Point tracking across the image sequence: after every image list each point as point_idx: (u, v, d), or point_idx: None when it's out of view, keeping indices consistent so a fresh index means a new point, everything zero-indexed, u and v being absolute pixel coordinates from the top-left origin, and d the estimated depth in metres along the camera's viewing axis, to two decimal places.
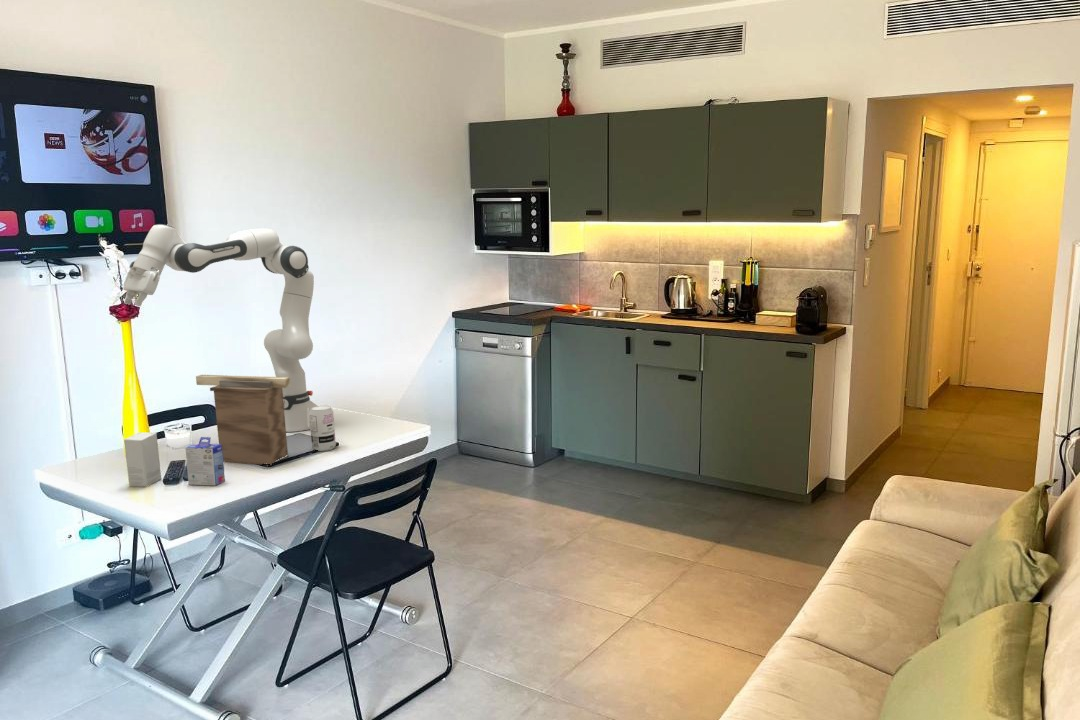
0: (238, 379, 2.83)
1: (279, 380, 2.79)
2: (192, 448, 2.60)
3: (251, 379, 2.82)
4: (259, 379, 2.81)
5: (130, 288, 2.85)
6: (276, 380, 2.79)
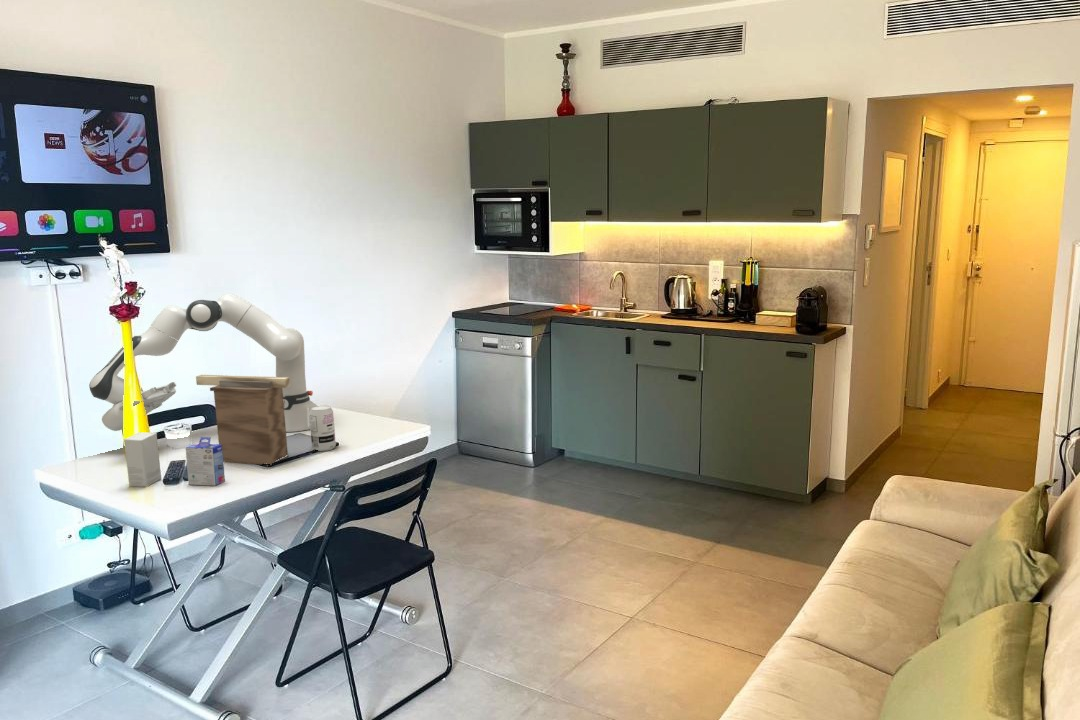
0: (238, 379, 2.83)
1: (279, 380, 2.79)
2: (192, 448, 2.60)
3: (251, 379, 2.82)
4: (259, 379, 2.81)
5: (162, 396, 2.98)
6: (276, 380, 2.79)
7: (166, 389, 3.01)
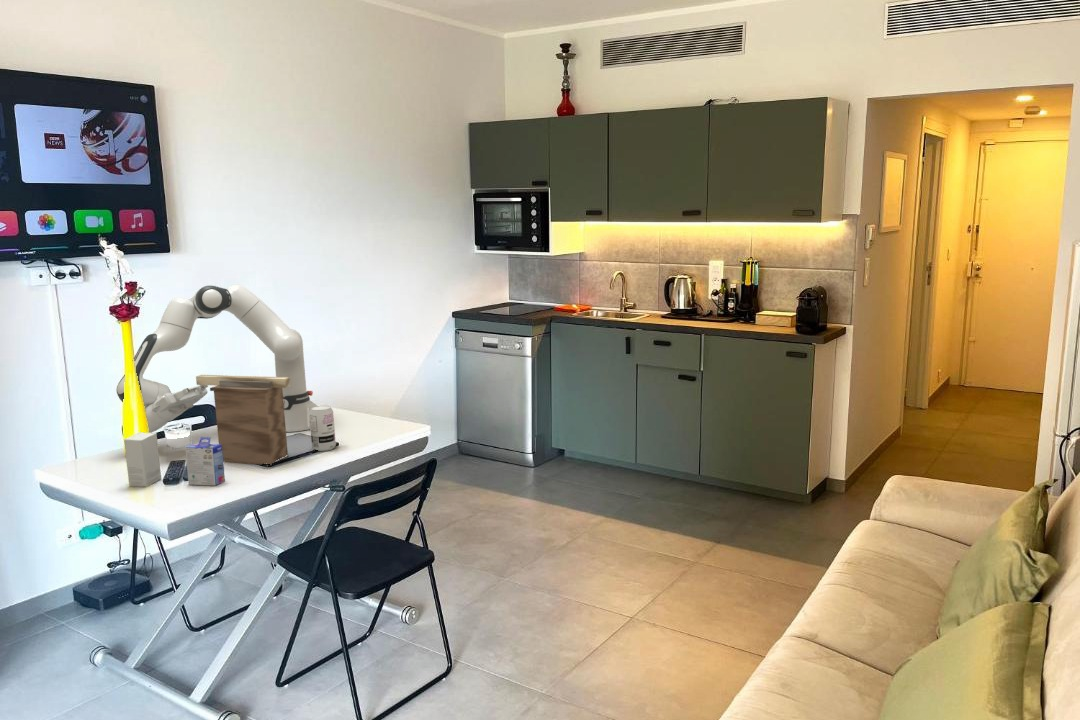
0: (238, 379, 2.83)
1: (279, 380, 2.79)
2: (192, 448, 2.60)
3: (251, 379, 2.82)
4: (259, 379, 2.81)
5: (194, 397, 2.95)
6: (276, 380, 2.79)
7: (198, 390, 2.97)
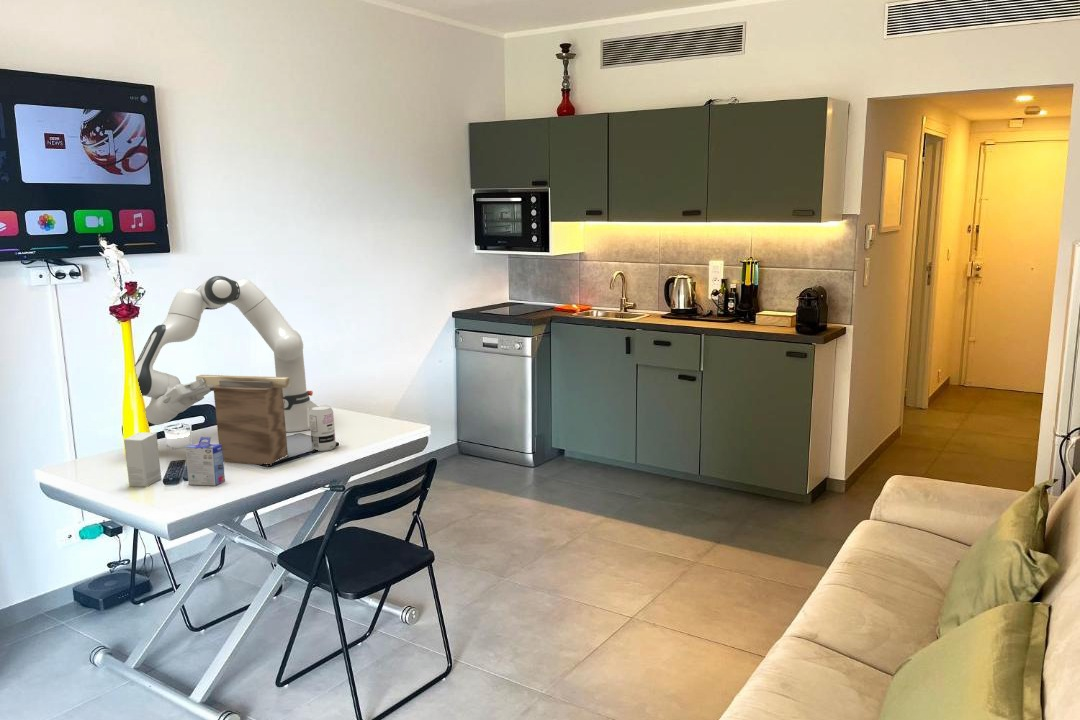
0: (238, 379, 2.83)
1: (279, 380, 2.79)
2: (192, 448, 2.60)
3: (251, 379, 2.82)
4: (259, 379, 2.81)
5: (205, 388, 2.93)
6: (276, 380, 2.79)
7: None
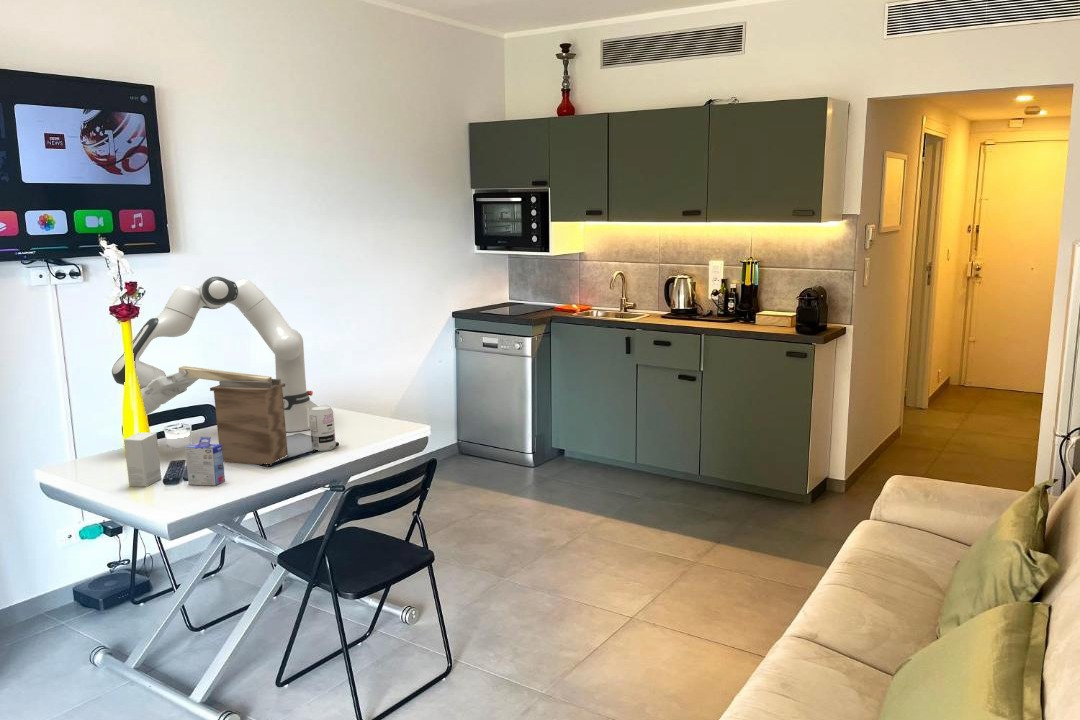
0: (220, 374, 2.85)
1: (261, 379, 2.81)
2: (192, 448, 2.60)
3: (233, 375, 2.84)
4: (241, 376, 2.83)
5: (187, 380, 2.94)
6: (258, 379, 2.81)
7: None
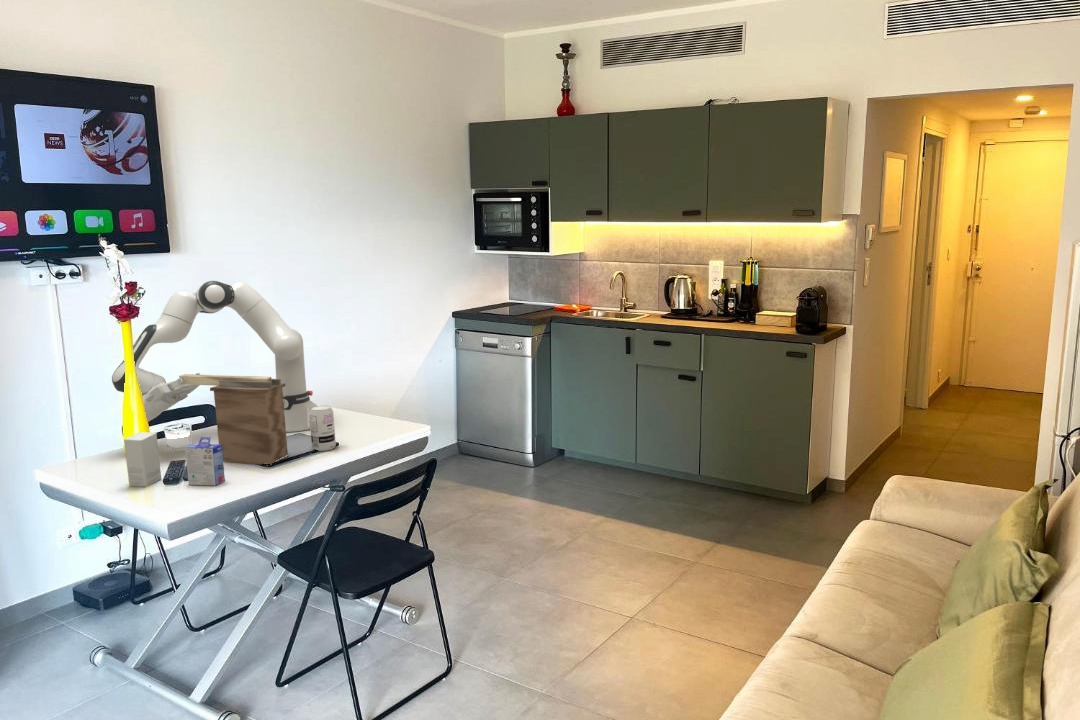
0: (220, 379, 2.85)
1: (261, 379, 2.81)
2: (192, 448, 2.60)
3: (233, 378, 2.84)
4: (241, 378, 2.83)
5: (188, 387, 2.95)
6: (258, 379, 2.81)
7: None
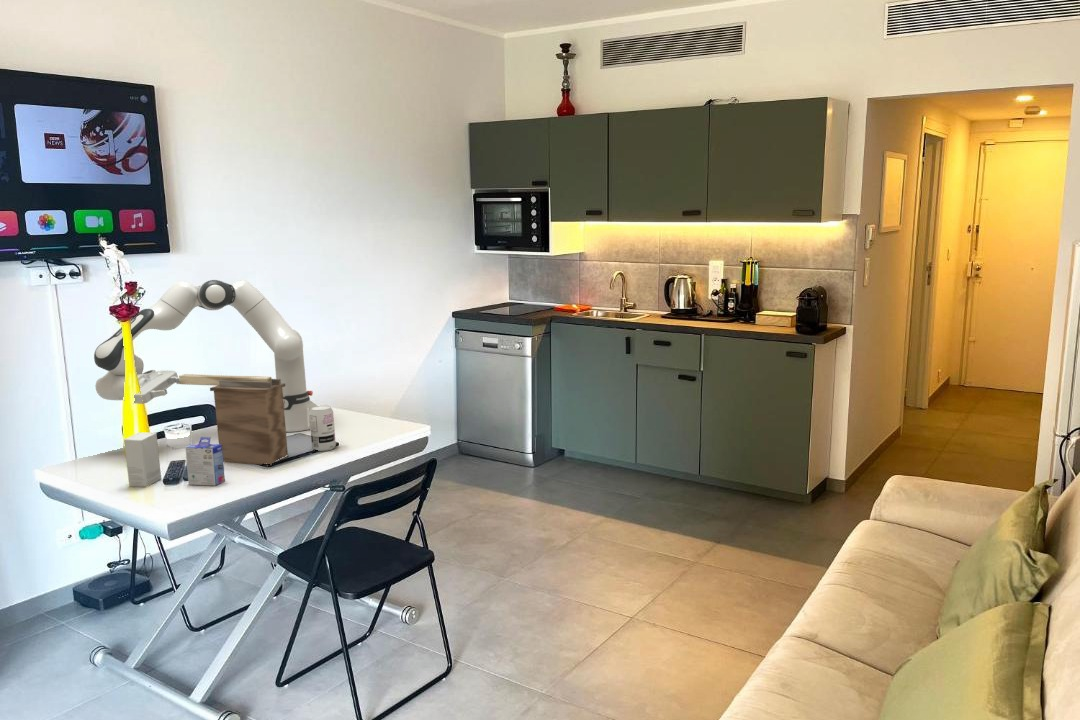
0: (220, 379, 2.85)
1: (261, 379, 2.81)
2: (192, 448, 2.60)
3: (233, 378, 2.84)
4: (241, 378, 2.83)
5: None
6: (258, 379, 2.81)
7: (171, 380, 2.99)
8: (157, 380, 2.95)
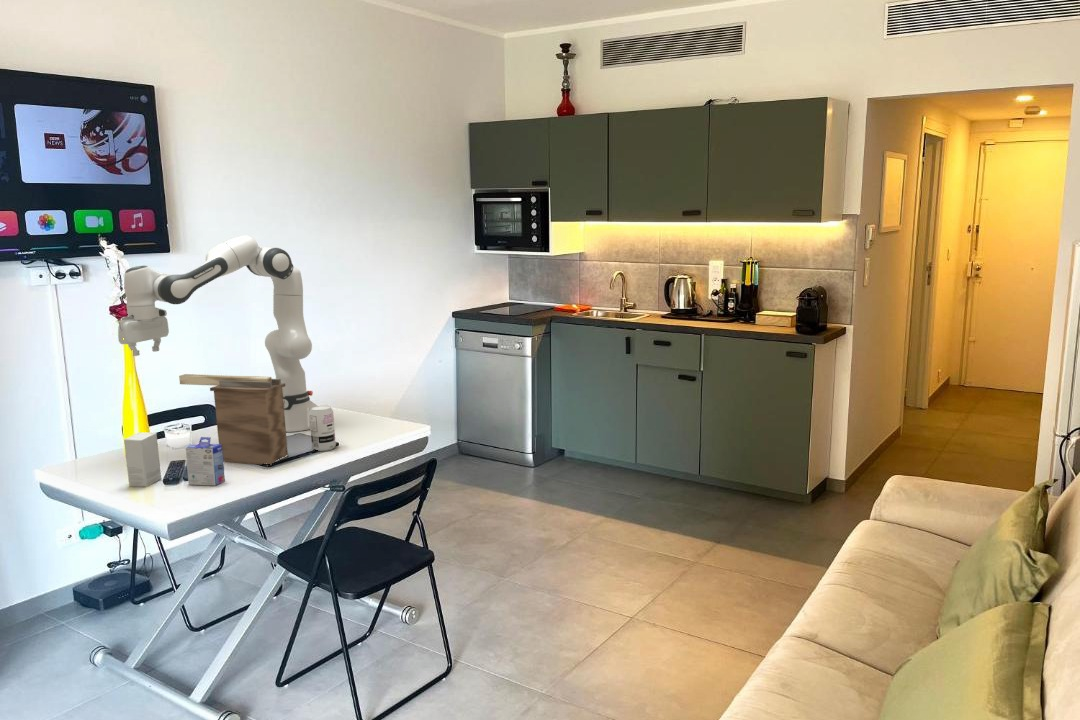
0: (220, 379, 2.85)
1: (261, 379, 2.81)
2: (192, 448, 2.60)
3: (233, 378, 2.84)
4: (241, 378, 2.83)
5: None
6: (258, 379, 2.81)
7: None
8: (150, 333, 2.89)
